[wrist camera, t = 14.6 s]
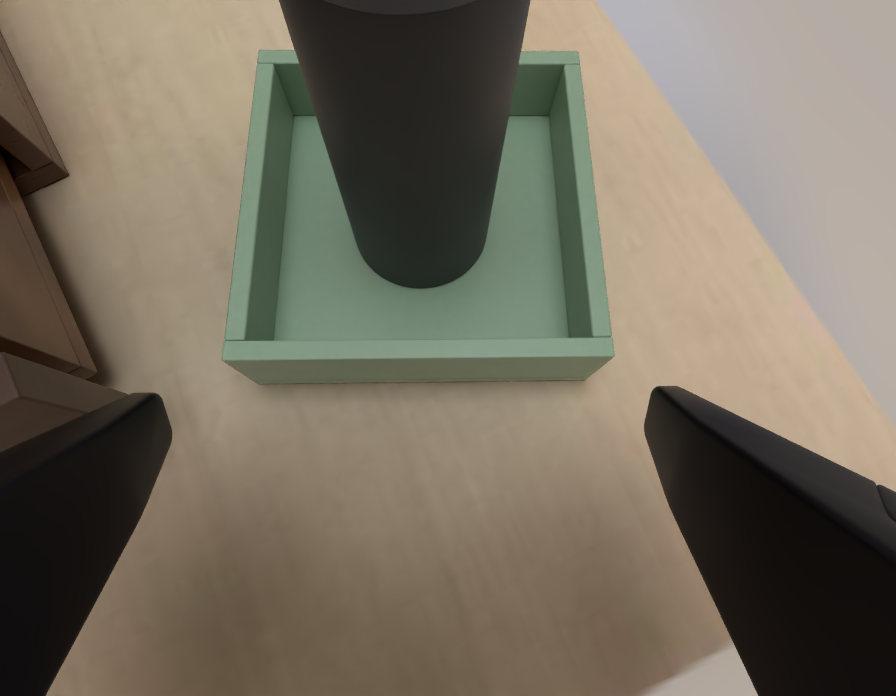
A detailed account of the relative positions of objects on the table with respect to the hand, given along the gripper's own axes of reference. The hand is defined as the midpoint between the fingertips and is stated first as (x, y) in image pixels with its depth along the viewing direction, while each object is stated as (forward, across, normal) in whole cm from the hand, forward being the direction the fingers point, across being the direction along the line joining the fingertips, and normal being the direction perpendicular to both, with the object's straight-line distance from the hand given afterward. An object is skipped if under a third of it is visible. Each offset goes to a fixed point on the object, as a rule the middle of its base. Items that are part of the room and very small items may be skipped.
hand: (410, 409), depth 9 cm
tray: (+11, 0, 0) cm, 11 cm away
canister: (+10, 0, -1) cm, 11 cm away
